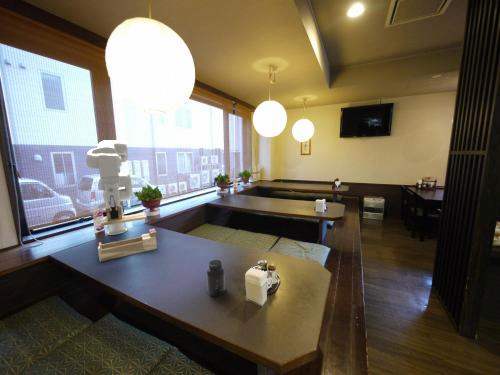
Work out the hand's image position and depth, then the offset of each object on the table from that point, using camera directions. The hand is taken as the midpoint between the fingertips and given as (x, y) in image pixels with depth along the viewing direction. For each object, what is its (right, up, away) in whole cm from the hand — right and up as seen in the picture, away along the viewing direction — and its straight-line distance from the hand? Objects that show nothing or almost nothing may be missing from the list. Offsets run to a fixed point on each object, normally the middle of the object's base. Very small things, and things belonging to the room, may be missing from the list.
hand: (114, 217), depth 99 cm
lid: (+3, -2, +2) cm, 5 cm away
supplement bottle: (+53, -26, -20) cm, 63 cm away
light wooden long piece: (-2, -22, +15) cm, 27 cm away
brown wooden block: (+9, -13, +20) cm, 26 cm away
